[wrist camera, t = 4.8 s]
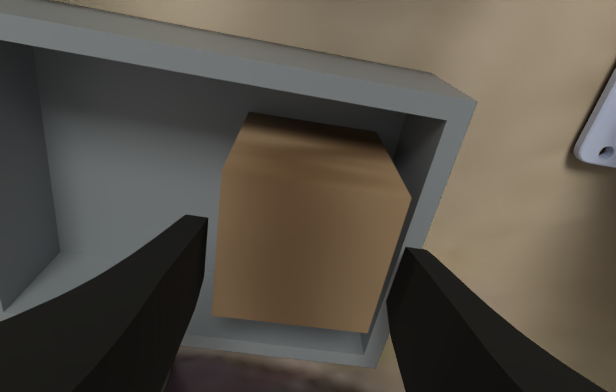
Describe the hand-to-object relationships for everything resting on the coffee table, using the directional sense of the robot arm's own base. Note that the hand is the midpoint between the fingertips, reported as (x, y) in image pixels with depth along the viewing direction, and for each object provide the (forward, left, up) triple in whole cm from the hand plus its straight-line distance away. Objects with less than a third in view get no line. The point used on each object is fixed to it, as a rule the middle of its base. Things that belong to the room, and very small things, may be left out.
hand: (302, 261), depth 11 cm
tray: (+3, 0, -5) cm, 6 cm away
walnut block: (0, 0, -4) cm, 4 cm away
